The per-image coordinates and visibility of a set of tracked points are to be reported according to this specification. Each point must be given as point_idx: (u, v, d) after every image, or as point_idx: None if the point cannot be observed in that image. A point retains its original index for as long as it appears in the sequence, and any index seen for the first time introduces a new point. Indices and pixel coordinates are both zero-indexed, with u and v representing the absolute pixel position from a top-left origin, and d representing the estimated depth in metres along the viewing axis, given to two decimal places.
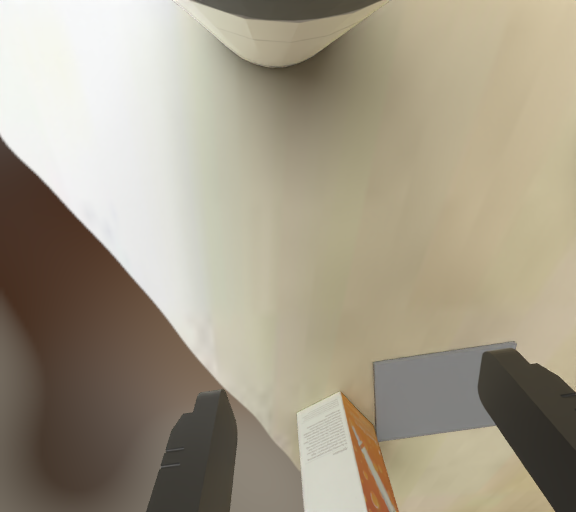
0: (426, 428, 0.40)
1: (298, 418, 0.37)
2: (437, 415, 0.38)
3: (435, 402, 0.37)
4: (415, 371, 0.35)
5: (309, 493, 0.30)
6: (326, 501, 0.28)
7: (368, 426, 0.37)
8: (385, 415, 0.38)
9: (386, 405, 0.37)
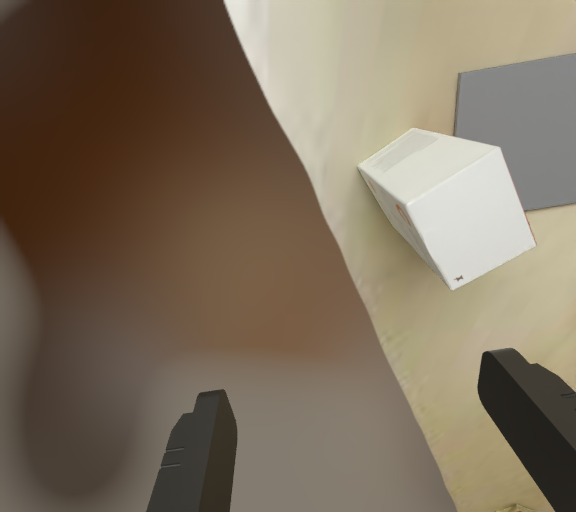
0: None
1: (361, 165, 0.30)
2: (525, 176, 0.32)
3: (525, 152, 0.31)
4: (509, 89, 0.28)
5: (393, 181, 0.23)
6: (421, 171, 0.22)
7: None
8: None
9: None
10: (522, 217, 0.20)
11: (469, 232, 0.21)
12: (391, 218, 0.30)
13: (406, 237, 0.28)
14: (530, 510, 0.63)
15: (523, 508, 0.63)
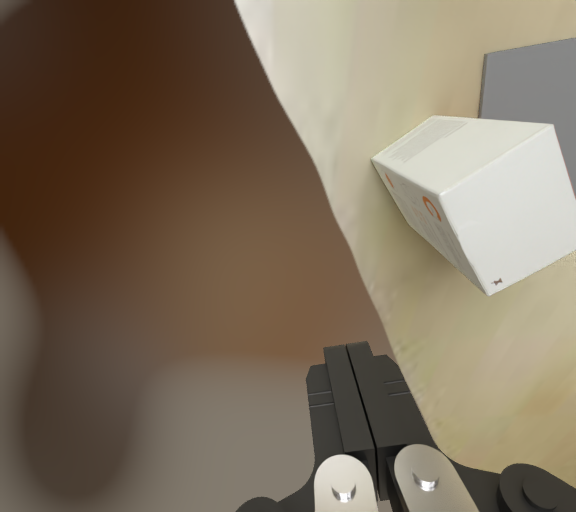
0: None
1: (375, 157, 0.27)
2: None
3: None
4: (540, 71, 0.25)
5: (418, 171, 0.20)
6: (452, 157, 0.19)
7: None
8: None
9: None
10: (575, 209, 0.17)
11: (512, 228, 0.17)
12: (410, 215, 0.27)
13: (428, 236, 0.25)
14: None
15: None
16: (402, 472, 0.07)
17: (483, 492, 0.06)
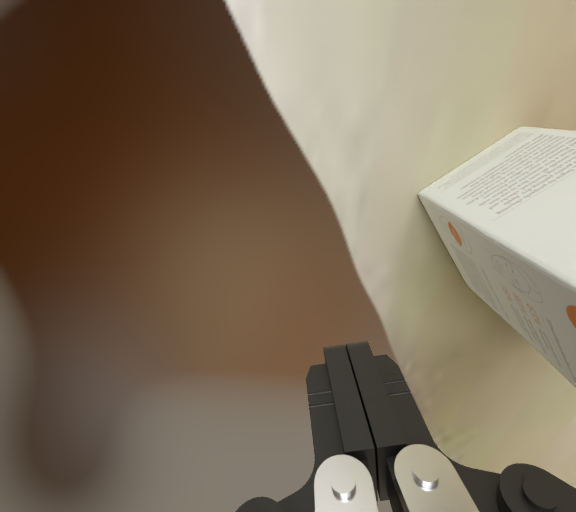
0: None
1: (427, 192, 0.17)
2: None
3: None
4: None
5: (551, 245, 0.10)
6: None
7: None
8: None
9: None
10: None
11: None
12: (485, 287, 0.17)
13: (524, 330, 0.15)
14: None
15: None
16: (402, 472, 0.07)
17: (483, 492, 0.06)
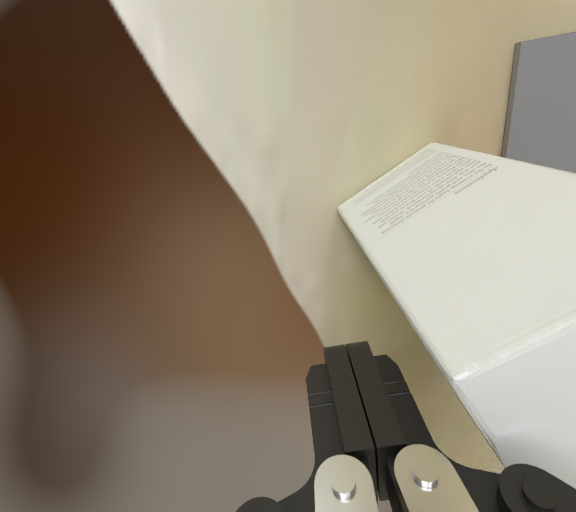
0: None
1: (342, 207, 0.17)
2: None
3: None
4: None
5: (406, 269, 0.10)
6: (475, 255, 0.09)
7: None
8: None
9: None
10: None
11: None
12: None
13: None
14: None
15: None
16: (402, 472, 0.07)
17: (483, 492, 0.06)
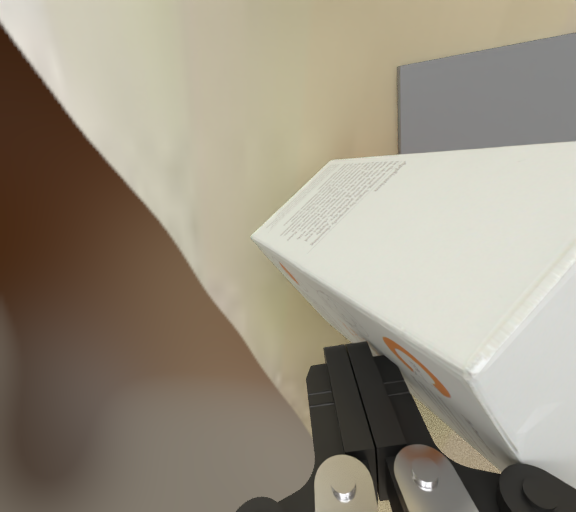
0: None
1: (257, 234, 0.16)
2: None
3: None
4: (487, 92, 0.16)
5: (354, 270, 0.09)
6: (425, 235, 0.08)
7: None
8: None
9: None
10: None
11: None
12: (336, 324, 0.15)
13: None
14: None
15: None
16: (401, 472, 0.07)
17: (482, 492, 0.06)
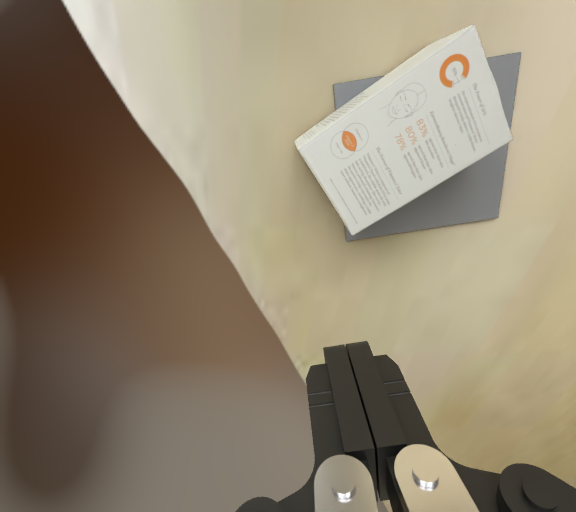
0: (409, 218, 0.31)
1: (308, 140, 0.22)
2: None
3: None
4: None
5: (408, 68, 0.21)
6: (414, 60, 0.22)
7: None
8: None
9: None
10: None
11: None
12: (379, 179, 0.23)
13: (415, 175, 0.23)
14: None
15: None
16: (402, 472, 0.07)
17: (483, 492, 0.06)
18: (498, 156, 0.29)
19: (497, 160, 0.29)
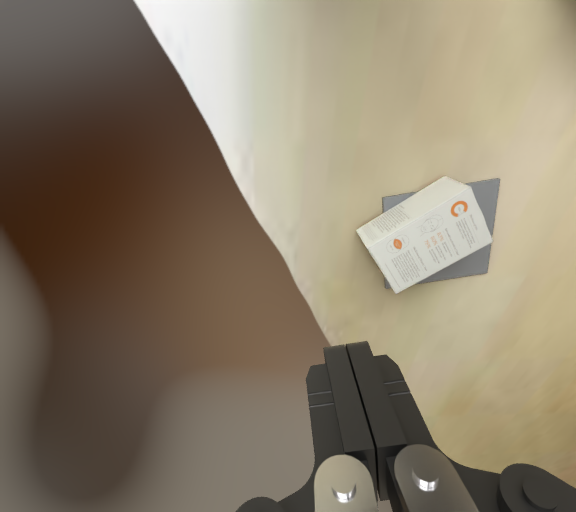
0: None
1: (373, 243, 0.37)
2: None
3: None
4: None
5: (432, 205, 0.36)
6: (435, 195, 0.37)
7: None
8: None
9: None
10: None
11: None
12: (414, 263, 0.38)
13: (435, 260, 0.38)
14: None
15: None
16: (402, 472, 0.07)
17: (483, 492, 0.06)
18: None
19: None
